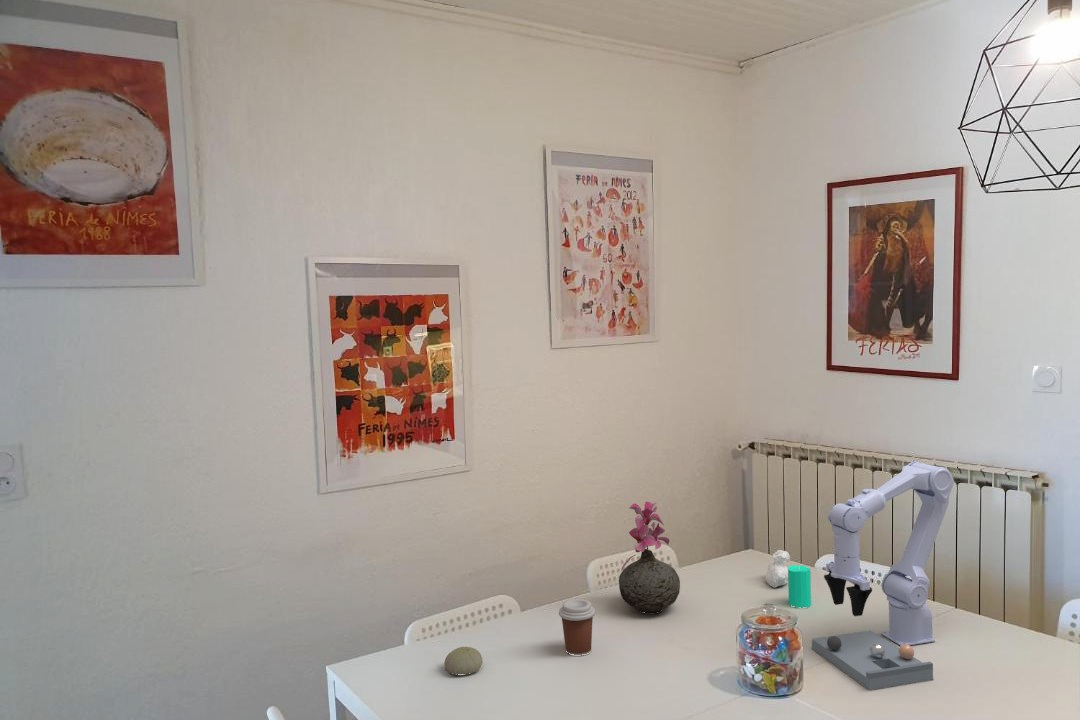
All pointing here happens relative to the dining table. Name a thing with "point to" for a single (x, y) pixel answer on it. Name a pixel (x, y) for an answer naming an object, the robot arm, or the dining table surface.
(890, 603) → the robot arm
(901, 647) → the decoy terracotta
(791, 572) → the candle
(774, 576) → the bust
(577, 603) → the coffee cup
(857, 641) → the board
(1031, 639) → the dining table surface
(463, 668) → the sea urchin shell
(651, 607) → the vase
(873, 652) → the steel ball
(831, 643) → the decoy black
